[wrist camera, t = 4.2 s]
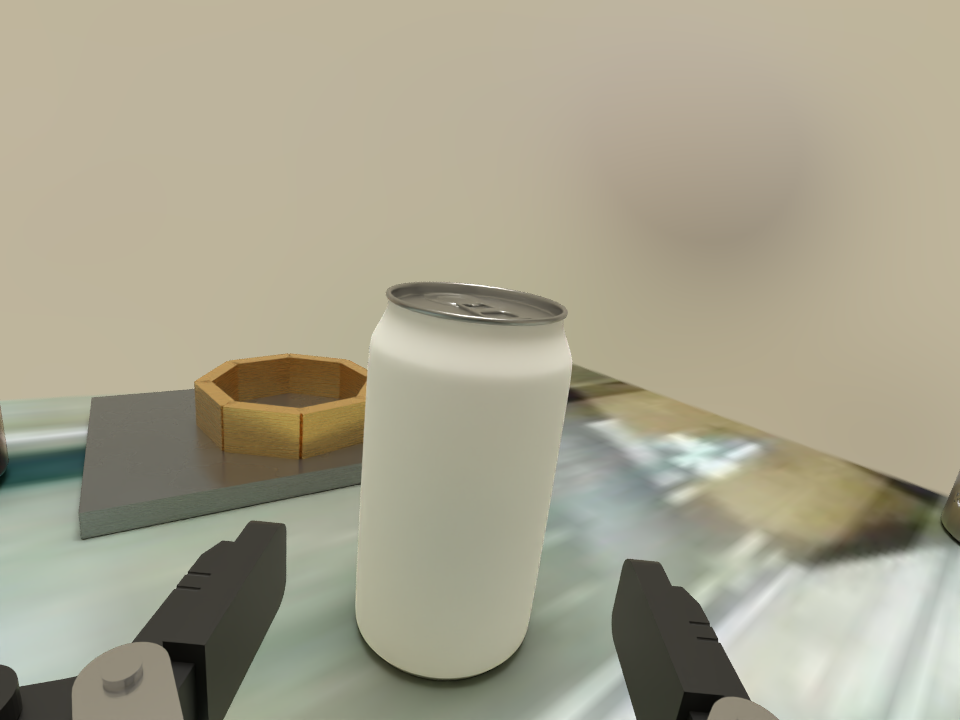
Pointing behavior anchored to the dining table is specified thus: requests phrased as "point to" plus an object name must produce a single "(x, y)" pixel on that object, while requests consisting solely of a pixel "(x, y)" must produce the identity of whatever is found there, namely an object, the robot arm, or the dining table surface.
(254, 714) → the dining table surface
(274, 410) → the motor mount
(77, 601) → the dining table surface
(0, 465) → the soda can
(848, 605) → the dining table surface
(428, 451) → the can
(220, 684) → the robot arm
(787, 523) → the dining table surface
